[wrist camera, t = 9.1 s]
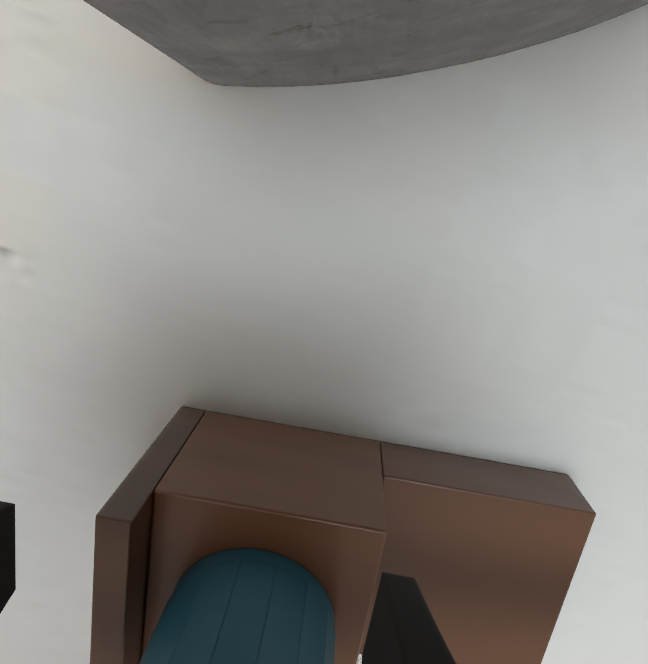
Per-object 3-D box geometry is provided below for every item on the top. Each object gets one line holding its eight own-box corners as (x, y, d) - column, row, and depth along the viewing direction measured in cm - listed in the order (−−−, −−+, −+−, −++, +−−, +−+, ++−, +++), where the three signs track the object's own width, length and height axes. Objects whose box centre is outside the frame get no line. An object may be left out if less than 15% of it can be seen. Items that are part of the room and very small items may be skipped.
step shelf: (514, 632, 22) (581, 824, 16) (166, 569, 23) (86, 732, 16) (568, 474, 20) (673, 620, 13) (181, 405, 20) (94, 515, 14)
